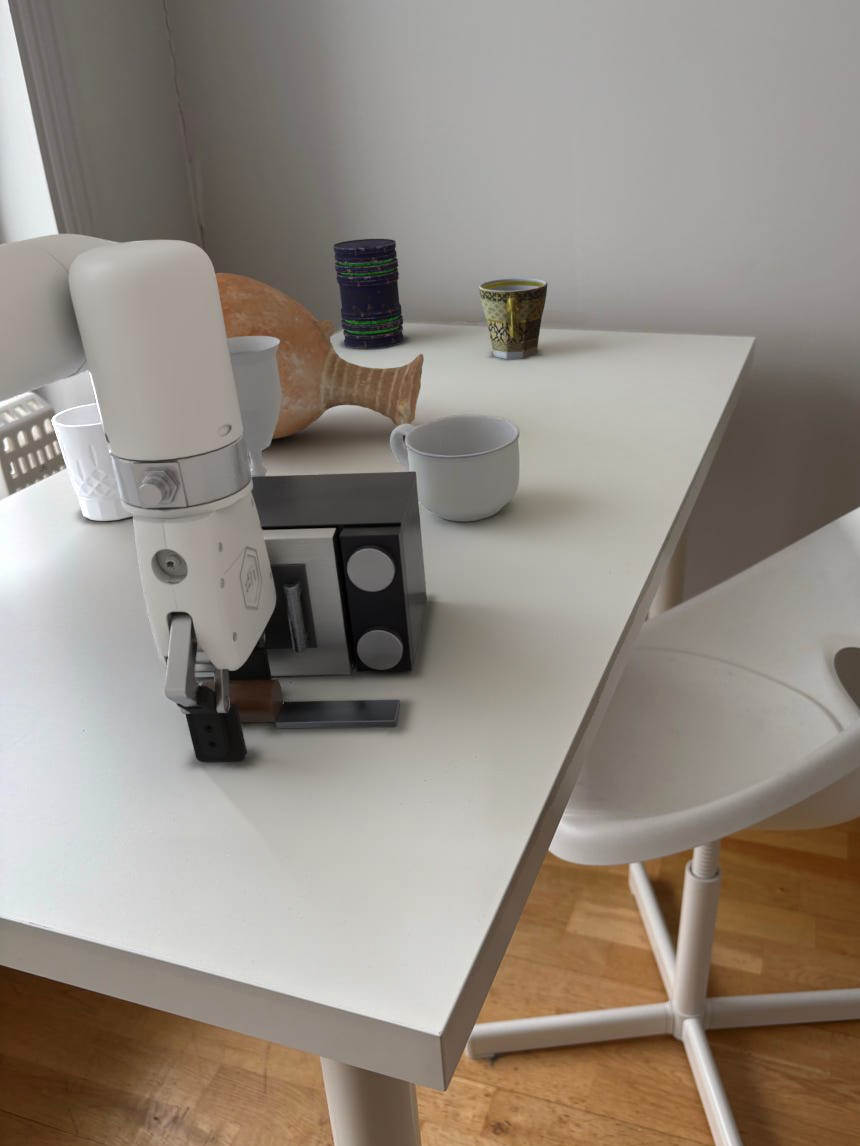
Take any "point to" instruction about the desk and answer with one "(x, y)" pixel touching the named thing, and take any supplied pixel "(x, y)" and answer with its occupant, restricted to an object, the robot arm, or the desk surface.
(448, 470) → the teacup
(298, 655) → the microwave door
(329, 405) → the jug
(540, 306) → the ceramic cup
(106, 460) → the white cup
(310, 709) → the knife
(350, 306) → the storage jar
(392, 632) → the microwave
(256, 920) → the desk surface
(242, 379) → the chalice
